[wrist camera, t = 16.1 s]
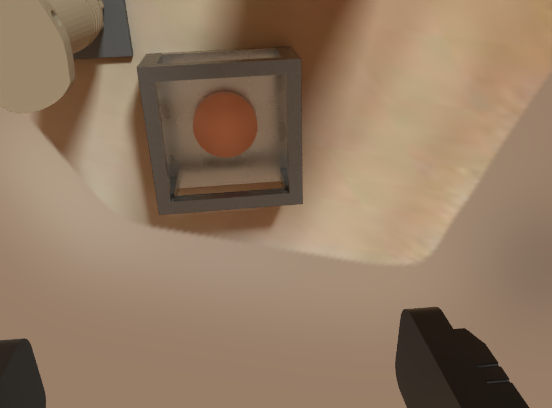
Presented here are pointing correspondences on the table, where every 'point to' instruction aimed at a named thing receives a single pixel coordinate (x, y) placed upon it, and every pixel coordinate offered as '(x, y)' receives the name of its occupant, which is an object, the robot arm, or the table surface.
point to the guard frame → (202, 165)
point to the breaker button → (225, 124)
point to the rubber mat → (110, 34)
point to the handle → (42, 49)
